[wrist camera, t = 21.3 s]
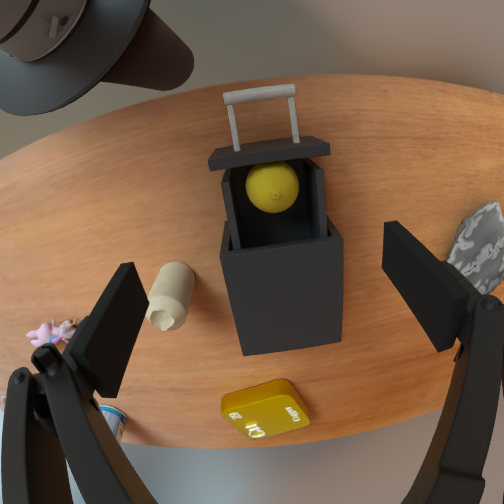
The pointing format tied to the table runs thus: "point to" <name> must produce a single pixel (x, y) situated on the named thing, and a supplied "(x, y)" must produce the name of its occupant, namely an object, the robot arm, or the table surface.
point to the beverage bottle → (114, 420)
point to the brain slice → (480, 248)
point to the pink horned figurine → (52, 333)
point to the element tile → (265, 409)
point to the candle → (170, 296)
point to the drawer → (308, 173)
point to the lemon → (272, 186)
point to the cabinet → (285, 292)
